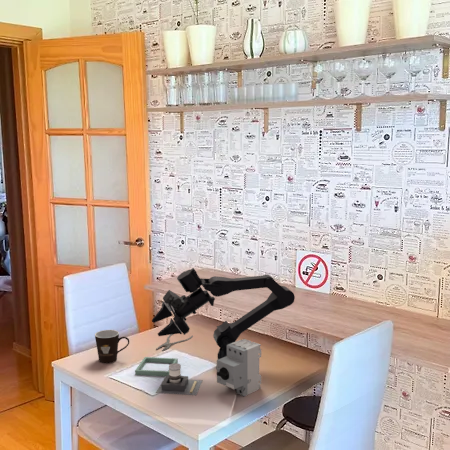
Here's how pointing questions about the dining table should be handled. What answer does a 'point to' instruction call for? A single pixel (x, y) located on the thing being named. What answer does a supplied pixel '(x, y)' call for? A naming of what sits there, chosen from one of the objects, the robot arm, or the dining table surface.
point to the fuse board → (180, 386)
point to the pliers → (168, 345)
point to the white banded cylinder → (174, 373)
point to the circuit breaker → (240, 367)
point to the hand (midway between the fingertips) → (155, 328)
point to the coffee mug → (108, 345)
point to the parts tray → (152, 372)
